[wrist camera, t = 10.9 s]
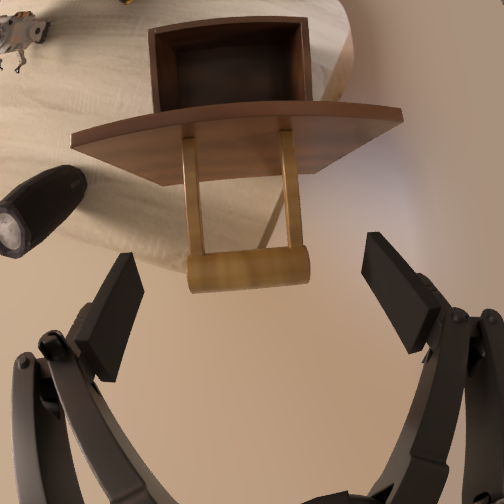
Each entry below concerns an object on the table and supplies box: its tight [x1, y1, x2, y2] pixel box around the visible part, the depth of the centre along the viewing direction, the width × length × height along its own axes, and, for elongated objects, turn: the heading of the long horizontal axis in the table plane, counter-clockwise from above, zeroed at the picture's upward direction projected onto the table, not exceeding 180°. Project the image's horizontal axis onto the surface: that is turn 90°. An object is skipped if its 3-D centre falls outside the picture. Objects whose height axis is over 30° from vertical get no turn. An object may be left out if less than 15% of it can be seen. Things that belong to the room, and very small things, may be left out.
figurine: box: [0, 11, 51, 73], centre depth 20 cm, size 9×12×15 cm
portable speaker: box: [0, 165, 87, 259], centre depth 34 cm, size 9×9×20 cm
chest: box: [148, 16, 313, 113], centre depth 32 cm, size 18×17×14 cm
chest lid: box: [70, 101, 404, 294], centre depth 21 cm, size 18×17×9 cm
